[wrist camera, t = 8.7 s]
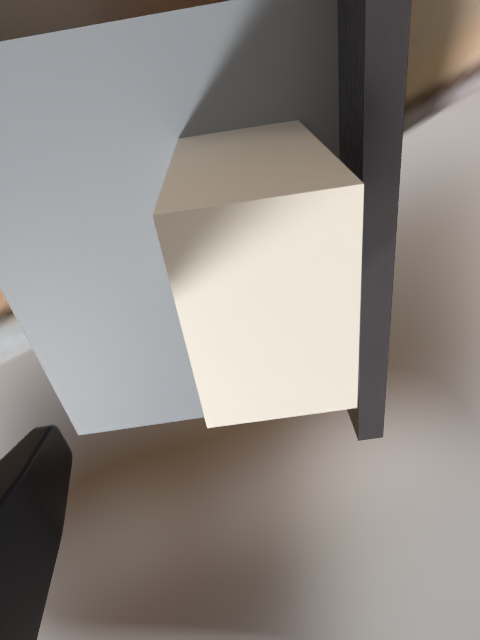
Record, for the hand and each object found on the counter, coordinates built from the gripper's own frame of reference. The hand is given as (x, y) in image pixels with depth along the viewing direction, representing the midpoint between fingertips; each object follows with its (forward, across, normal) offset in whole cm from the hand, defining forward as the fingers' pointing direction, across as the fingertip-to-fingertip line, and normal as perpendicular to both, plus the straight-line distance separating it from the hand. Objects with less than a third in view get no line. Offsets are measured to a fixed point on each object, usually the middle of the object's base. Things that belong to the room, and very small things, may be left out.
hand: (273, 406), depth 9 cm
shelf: (+13, +3, +2) cm, 13 cm away
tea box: (+10, 0, 0) cm, 10 cm away
